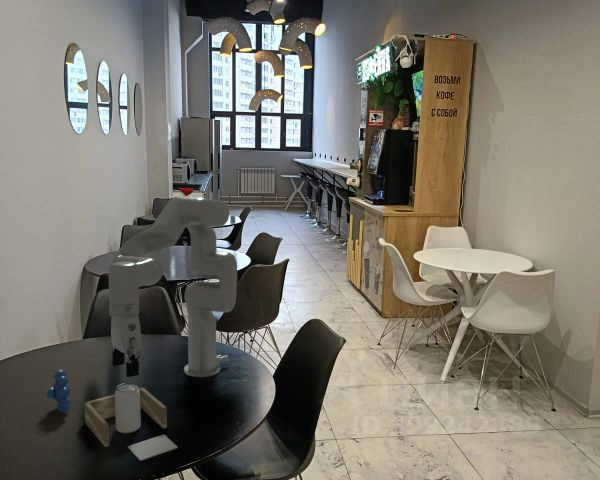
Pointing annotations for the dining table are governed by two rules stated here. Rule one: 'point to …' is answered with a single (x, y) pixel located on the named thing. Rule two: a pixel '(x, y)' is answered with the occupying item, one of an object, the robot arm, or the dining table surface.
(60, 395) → the grapes
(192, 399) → the dining table surface
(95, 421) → the wooden u-shaped frame
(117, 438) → the dining table surface
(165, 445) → the mat
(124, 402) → the can
